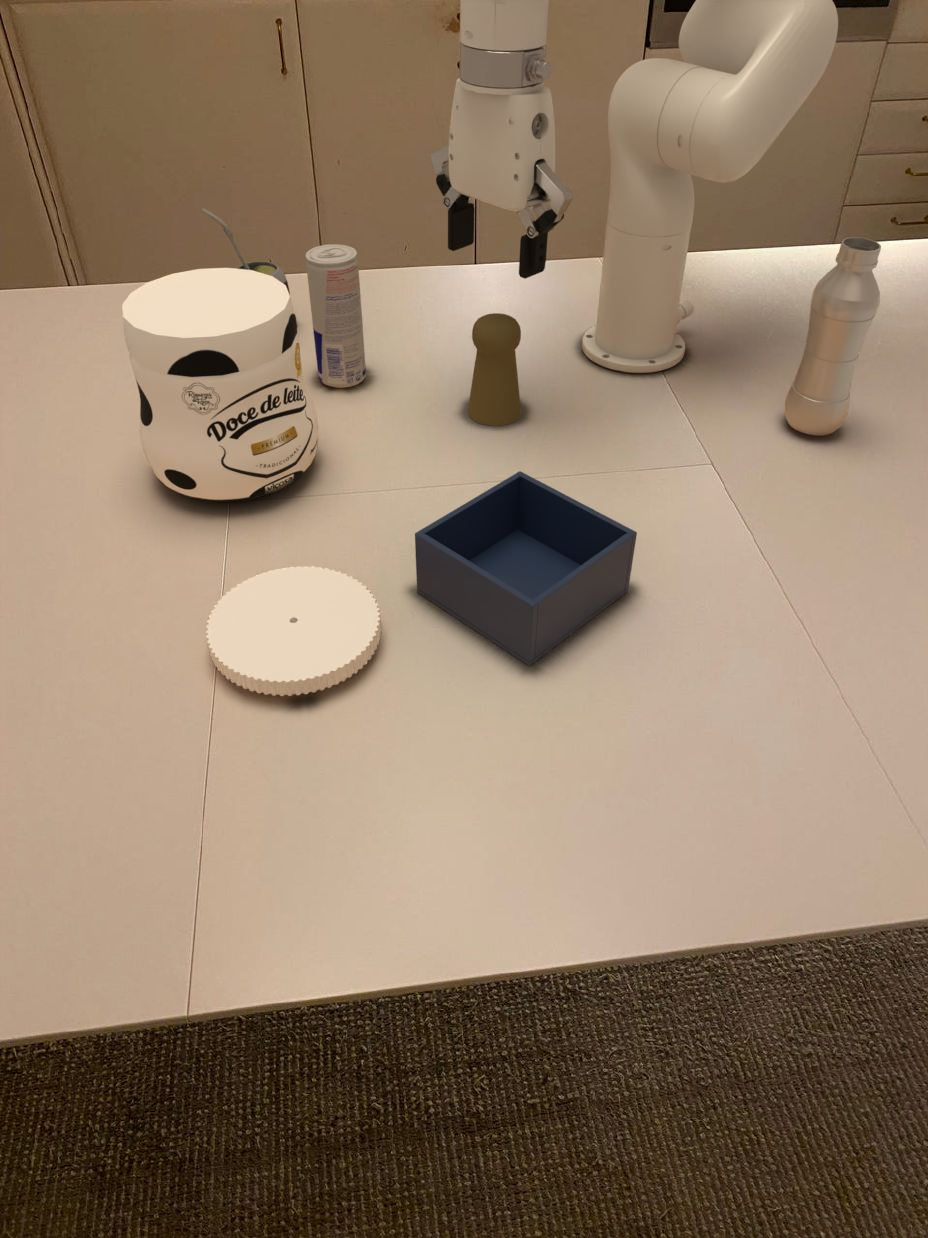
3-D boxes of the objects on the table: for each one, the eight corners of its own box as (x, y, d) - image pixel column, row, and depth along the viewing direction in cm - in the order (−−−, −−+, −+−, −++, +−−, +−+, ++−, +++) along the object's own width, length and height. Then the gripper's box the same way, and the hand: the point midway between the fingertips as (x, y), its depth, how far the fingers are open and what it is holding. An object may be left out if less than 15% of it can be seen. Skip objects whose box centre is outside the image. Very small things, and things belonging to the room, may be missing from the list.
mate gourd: (303, 333, 121) (289, 212, 111) (246, 349, 118) (226, 226, 108) (277, 312, 126) (261, 194, 116) (221, 327, 122) (200, 207, 112)
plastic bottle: (809, 449, 101) (862, 262, 88) (766, 419, 106) (811, 238, 92) (854, 434, 104) (913, 250, 90) (810, 406, 108) (860, 227, 95)
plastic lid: (385, 587, 84) (383, 564, 83) (377, 703, 74) (375, 680, 72) (226, 589, 84) (221, 566, 82) (196, 706, 74) (190, 683, 72)
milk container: (293, 526, 91) (267, 351, 79) (123, 508, 93) (72, 334, 81) (341, 432, 103) (325, 269, 91) (191, 418, 106) (155, 256, 94)
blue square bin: (517, 528, 91) (519, 470, 86) (628, 591, 84) (637, 532, 80) (416, 592, 84) (414, 533, 79) (529, 666, 77) (533, 606, 73)
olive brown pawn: (516, 428, 104) (520, 333, 97) (462, 422, 105) (462, 328, 98) (525, 401, 109) (529, 308, 101) (473, 395, 110) (474, 303, 102)
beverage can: (374, 373, 114) (366, 247, 103) (351, 394, 110) (340, 265, 100) (334, 363, 115) (322, 239, 105) (309, 384, 111) (295, 256, 101)
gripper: (606, 77, 81) (586, 274, 93) (462, 44, 90) (460, 228, 102) (548, 91, 77) (535, 296, 89) (404, 56, 86) (408, 246, 98)
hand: (495, 260), depth 95 cm, fingers open, 9 cm apart
